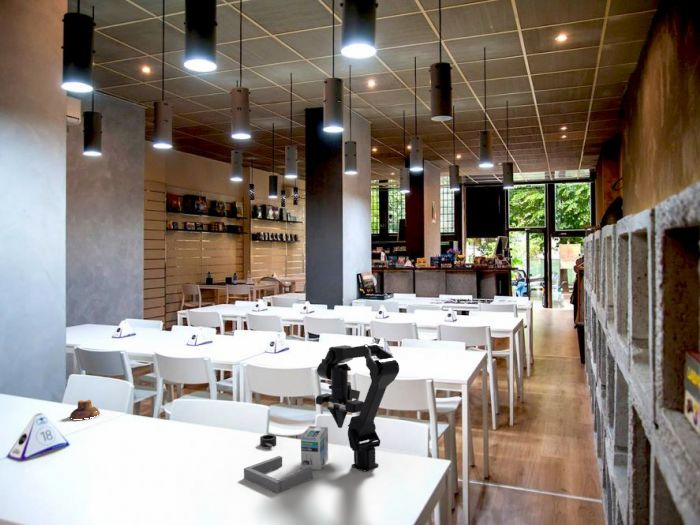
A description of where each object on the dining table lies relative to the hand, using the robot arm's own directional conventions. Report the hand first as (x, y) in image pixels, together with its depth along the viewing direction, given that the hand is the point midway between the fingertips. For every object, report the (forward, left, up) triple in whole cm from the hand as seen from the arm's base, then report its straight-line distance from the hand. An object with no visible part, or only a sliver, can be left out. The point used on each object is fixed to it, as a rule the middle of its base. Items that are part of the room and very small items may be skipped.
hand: (340, 427), depth 184 cm
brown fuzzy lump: (+114, +41, -9) cm, 122 cm away
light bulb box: (0, +12, -9) cm, 15 cm away
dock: (0, +27, -9) cm, 28 cm away
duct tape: (+26, +11, -9) cm, 30 cm away
